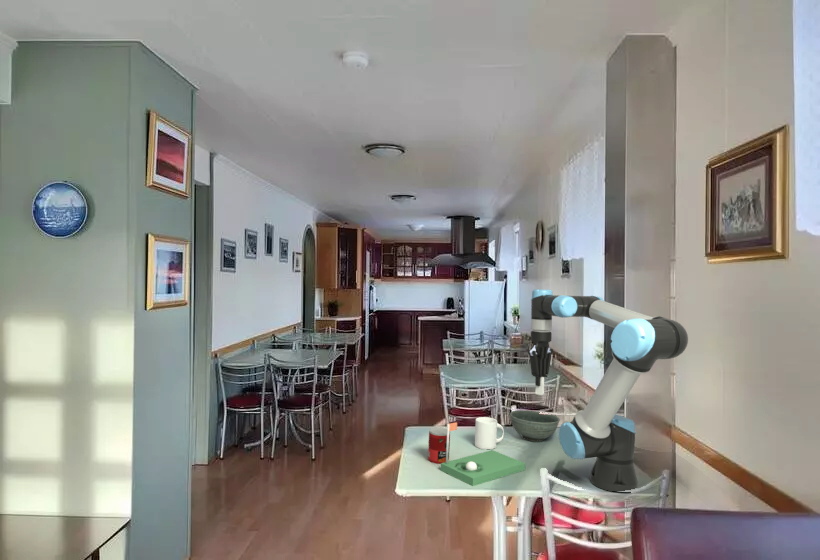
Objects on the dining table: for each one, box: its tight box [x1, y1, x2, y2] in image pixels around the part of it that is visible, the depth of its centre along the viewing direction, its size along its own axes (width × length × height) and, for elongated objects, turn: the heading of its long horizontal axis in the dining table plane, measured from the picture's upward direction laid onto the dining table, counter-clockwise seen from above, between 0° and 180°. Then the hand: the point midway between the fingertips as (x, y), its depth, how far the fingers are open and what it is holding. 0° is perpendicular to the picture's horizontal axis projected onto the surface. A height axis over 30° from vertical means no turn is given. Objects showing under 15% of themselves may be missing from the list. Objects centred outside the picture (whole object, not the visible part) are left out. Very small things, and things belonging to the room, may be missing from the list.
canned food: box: [427, 427, 451, 465], centre depth 196 cm, size 8×8×11 cm
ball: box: [466, 461, 477, 470], centre depth 184 cm, size 4×4×4 cm
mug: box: [474, 416, 505, 450], centre depth 214 cm, size 9×12×11 cm
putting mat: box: [440, 422, 526, 487], centre depth 188 cm, size 16×26×16 cm, turn 128°
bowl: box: [509, 409, 561, 442], centre depth 227 cm, size 21×21×10 cm
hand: (539, 394), depth 197 cm, fingers closed
